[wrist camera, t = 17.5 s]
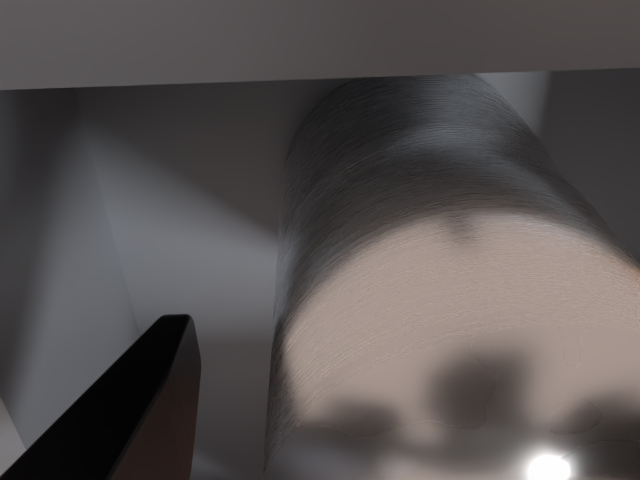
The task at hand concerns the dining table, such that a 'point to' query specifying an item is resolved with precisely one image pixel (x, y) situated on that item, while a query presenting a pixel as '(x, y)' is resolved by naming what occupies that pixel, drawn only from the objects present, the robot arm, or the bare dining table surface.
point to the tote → (238, 169)
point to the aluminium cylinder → (445, 298)
